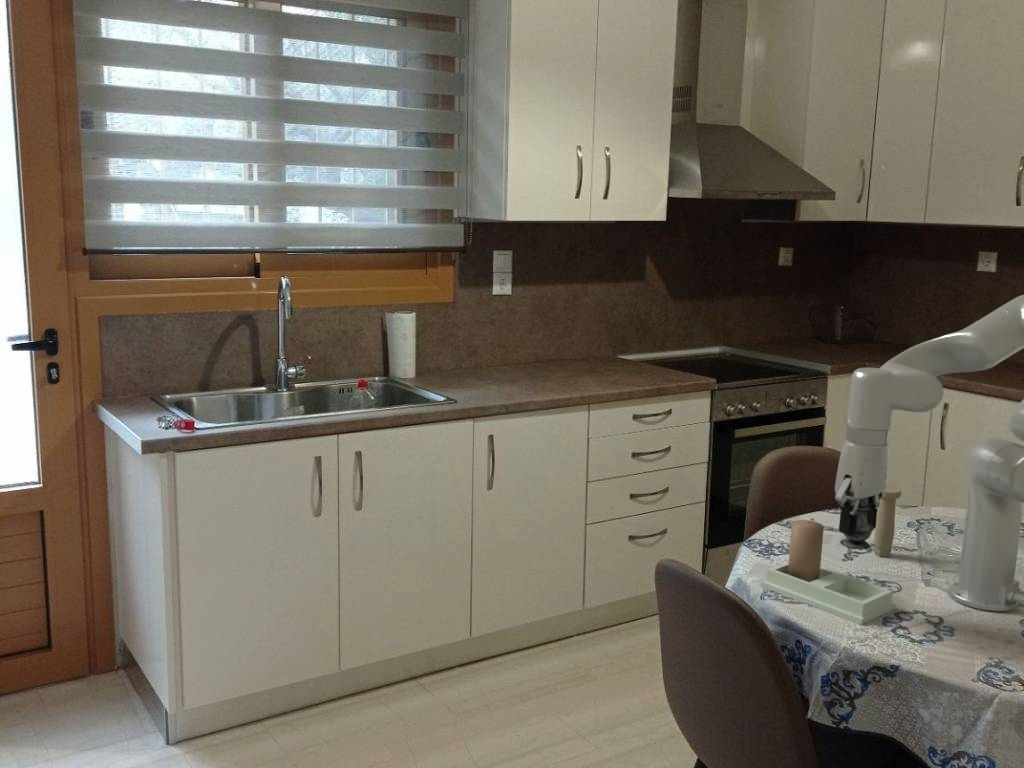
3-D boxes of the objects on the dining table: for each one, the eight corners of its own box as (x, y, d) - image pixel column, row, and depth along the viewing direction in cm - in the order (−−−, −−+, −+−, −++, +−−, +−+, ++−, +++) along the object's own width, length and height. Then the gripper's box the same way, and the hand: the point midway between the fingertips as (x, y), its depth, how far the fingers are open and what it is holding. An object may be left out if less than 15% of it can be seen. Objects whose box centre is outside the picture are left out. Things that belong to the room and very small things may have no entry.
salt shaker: (874, 551, 182) (881, 488, 180) (840, 548, 183) (847, 485, 181) (869, 540, 188) (876, 479, 185) (836, 537, 189) (843, 476, 187)
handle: (872, 558, 213) (878, 491, 210) (868, 548, 219) (875, 483, 216) (895, 561, 212) (902, 493, 209) (892, 550, 218) (898, 485, 215)
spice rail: (896, 608, 187) (902, 542, 185) (861, 624, 180) (867, 556, 177) (796, 572, 204) (801, 512, 202) (760, 586, 197) (765, 523, 194)
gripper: (874, 426, 190) (864, 516, 193) (822, 437, 179) (812, 533, 182) (911, 434, 184) (900, 527, 187) (859, 446, 173) (849, 545, 177)
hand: (857, 529), depth 185 cm, fingers closed on salt shaker, 5 cm apart
